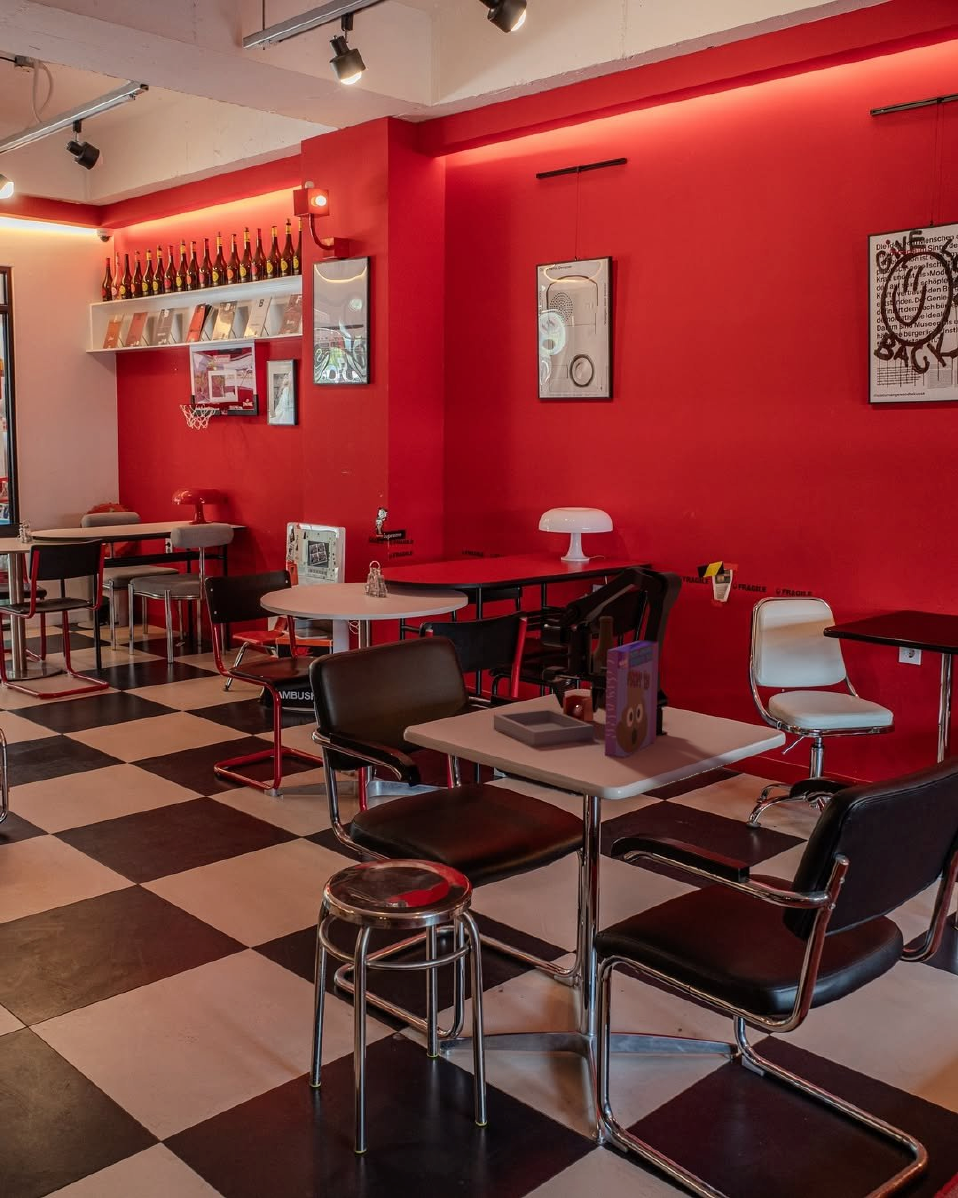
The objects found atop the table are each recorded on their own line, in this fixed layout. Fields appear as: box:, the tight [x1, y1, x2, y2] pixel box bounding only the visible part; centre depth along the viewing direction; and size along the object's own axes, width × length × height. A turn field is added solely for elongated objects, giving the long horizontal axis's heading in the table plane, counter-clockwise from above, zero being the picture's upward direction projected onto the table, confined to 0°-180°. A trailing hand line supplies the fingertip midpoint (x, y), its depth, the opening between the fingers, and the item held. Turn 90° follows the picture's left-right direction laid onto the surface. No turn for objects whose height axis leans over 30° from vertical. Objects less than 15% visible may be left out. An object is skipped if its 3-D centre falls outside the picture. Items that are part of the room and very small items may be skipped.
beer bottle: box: [589, 615, 615, 709], centre depth 303 cm, size 8×8×24 cm
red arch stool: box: [562, 693, 594, 724], centre depth 285 cm, size 6×5×6 cm
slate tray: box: [493, 708, 595, 748], centre depth 270 cm, size 20×16×4 cm
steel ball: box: [573, 705, 582, 717], centre depth 285 cm, size 3×3×3 cm
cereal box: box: [604, 639, 659, 759], centre depth 256 cm, size 17×5×24 cm, turn 148°
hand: (578, 710), depth 285 cm, fingers open, 9 cm apart
